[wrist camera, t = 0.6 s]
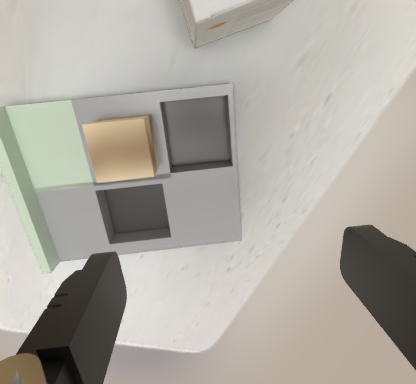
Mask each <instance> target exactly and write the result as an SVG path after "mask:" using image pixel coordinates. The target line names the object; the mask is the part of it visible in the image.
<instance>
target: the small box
mask: <svg viewBox="0 0 416 384" xmlns="http://www.w3.org/2000/svg"><path fill="white" fill-rule="evenodd" d="M179 1H180V4H181V8H182V11H183V14H184V17H185V20H186V24H187V27H188V30H189V33H190V36H191V39H192V42H193V45H194V47H195V48H197V47H199V46H202V45H204V44H207V43H210V42H212V41H215V40H218V39H220V38H223V37H225V36H228V35H231V34H233V33H236V32H239V31H241V30H244V29H247V28H249V27H252V26H255V25H257V24H260V23H263V22H265V21H268V20H271V19H272V18H274V17H275V16H276V15H277V14H278V13H280V12H281V11H282V10H283V9H284V8H285V7H286V6H288V5H289V4H290V3H291V2H292V1H293V0H179Z"/></svg>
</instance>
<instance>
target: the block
mask: <svg viewBox="0 0 416 384" xmlns="http://www.w3.org/2000/svg"><path fill="white" fill-rule="evenodd" d="M82 127H83V131H84V135H85V139H86V142H87V146H88V150H89V154H90V158H91V162H92V165H93V169H94V173H95V177H96V181H97V183H102V182H111V181H120V180H129V179H138V178H148V177H154V176H155V174H156V171H157V169H158V167H159V161H158V155H157V149H156V143H155V137H154V131H153V125H152V119H151V114H149V115H139V116H129V117H120V118H110V119H101V120H96V121H92V122H89V123H86V124H83V125H82Z"/></svg>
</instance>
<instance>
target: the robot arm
mask: <svg viewBox="0 0 416 384" xmlns="http://www.w3.org/2000/svg"><path fill="white" fill-rule="evenodd" d="M340 270H341V274H342V276H343V279H344V280H345V282H346V283H347V284H348V286H349V287H350V288H351V289H352V291H353V292H354V293H355V294H356V296H357V297H358V298H359V299H360V301H361V302H362V303H363V304H364V306H365V307H366V308H367V309H368V311H369V312H370V313H371V314H372V316H373V317H374V318H375V320H376V321H377V322H378V323H379V325H380V326H381V327H382V328H383V329H384V331H385V332H386V333H387V335H388V336H389V337H390V338H391V340H392V341H393V342H394V343H395V345H396V346H397V347H398V348H399V350H400V351H401V352H402V353H403V355H404V356H405V357H406V358H407V360H408V361H409V362H410V364H411V365H412V366H413V367H414V368H415V370H416V252H415V251H414V250H413V249H411V248H410V247H409V246H407V245H405V244H403V243H401V242H399V241H396V240H394V239H392V238H390V237H387V236H386V235H384V234H383V233H382V232H381V231H379V230H378V229H376V228H375V227H374V226H372V225H362V226H353V227H347V228H346V229H345V231H344V236H343V244H342V251H341V259H340ZM126 299H127V292H126V285H125V281H124V277H123V273H122V269H121V265H120V262H119V258H118V255H117V253H116V252H115V251H114V252H104V253H95V254H92V255H91V256H90V257H89V259H88V261H87V262H86V264H85V266H84V267H83V269H82V270H77V271H75V272H74V273H73V274H72V275H70V276H69V277H68V278H67V279H66V280H65V281H63V282H62V284H61V286H60V287H59V289H58V290H57V292H56V293H55V296H54V298H52V299H51V301H50V303H49V304H48V306H47V309H45V310H44V312H43V313H42V315H41V316H40V318H39V320H38V321H37V323H36V324H35V326H34V327H33V329H32V330H31V332H30V333H29V335H28V337H27V338H26V340H25V341H24V343H23V344H22V346H21V347H20V349H19V351H18V352H17V354H16V355H14V356H11V357H8V358H6V359H4V360H2V361H0V384H103V382H104V378H105V375H106V371H107V367H108V364H109V361H110V357H111V354H112V351H113V347H114V344H115V340H116V337H117V333H118V330H119V327H120V323H121V320H122V316H123V313H124V309H125V306H126Z"/></svg>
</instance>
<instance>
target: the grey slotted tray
mask: <svg viewBox="0 0 416 384" xmlns="http://www.w3.org/2000/svg"><path fill="white" fill-rule="evenodd" d="M149 114H151V119H152V125H153V131H154V137H155V143H156V149H157V155H158V161H159V167H158V169H157V171H156V174H155V176H154V177H148V178H138V179H129V180H120V181H111V182H102V183H97V181H96V177H95V173H94V169H93V165H92V162H91V158H90V154H89V150H88V146H87V142H86V139H85V135H84V131H83V127H82V125H83V124H86V123H89V122H92V121H96V120H101V119H110V118H120V117H129V116H139V115H149ZM0 168H1V171H2V173H3V176H4V179H5V181H6V184H7V186H8V189H9V191H10V194H11V196H12V199H13V202H14V204H15V207H16V209H17V212H18V214H19V217H20V219H21V222H22V224H23V227H24V230H25V232H26V235H27V237H28V240H29V242H30V245H31V247H32V250H33V253H34V255H35V258H36V260H37V263H38V265H39V268H40V270H41V273H42V274H46V273H52V271H53V270H54V269H55V267H56V266H57V265H58V264H59V262H62V261H70V260H79V259H87V258H89V257H90V256H91V255H92V254H95V253H104V252H114V251H115V252H116V253H117V255H122V254H130V253H139V252H148V251H156V250H165V249H173V248H182V247H190V246H199V245H208V244H216V243H225V242H233V241H242V236H241V218H240V201H239V183H238V166H237V148H236V131H235V113H234V96H233V83H229V84H220V85H210V86H200V87H190V88H180V89H171V90H161V91H151V92H141V93H131V94H122V95H112V96H102V97H92V98H82V99H73V100H63V101H53V102H43V103H34V104H24V105H14V106H4V107H0Z"/></svg>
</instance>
